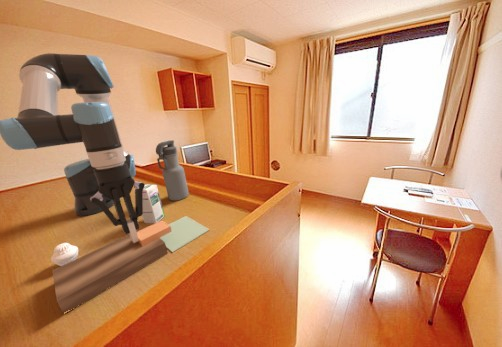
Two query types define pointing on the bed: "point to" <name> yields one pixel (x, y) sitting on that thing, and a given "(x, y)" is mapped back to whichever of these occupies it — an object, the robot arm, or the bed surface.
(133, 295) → the bed surface
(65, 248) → the white steamed bun
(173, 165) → the water bottle
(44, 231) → the bed surface
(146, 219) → the syrup box
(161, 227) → the orange rectangular block
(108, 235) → the bed surface
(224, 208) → the bed surface
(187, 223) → the mat
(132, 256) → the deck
